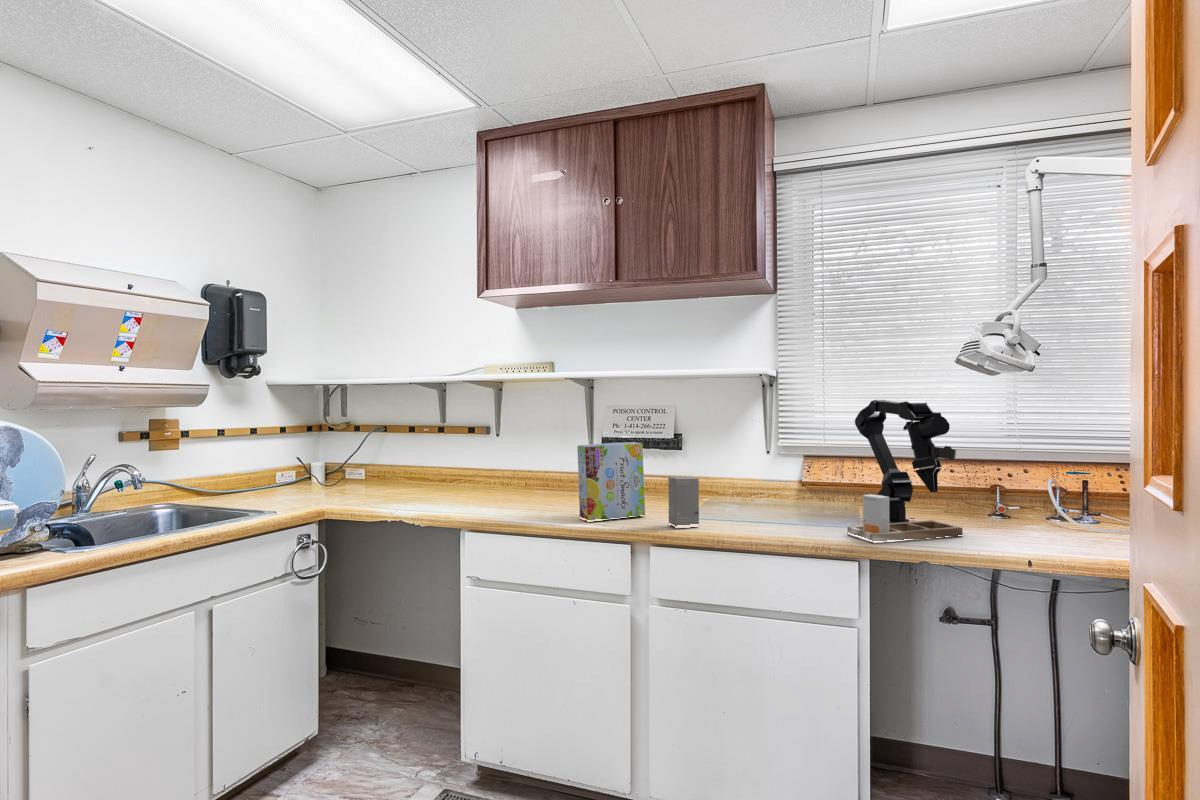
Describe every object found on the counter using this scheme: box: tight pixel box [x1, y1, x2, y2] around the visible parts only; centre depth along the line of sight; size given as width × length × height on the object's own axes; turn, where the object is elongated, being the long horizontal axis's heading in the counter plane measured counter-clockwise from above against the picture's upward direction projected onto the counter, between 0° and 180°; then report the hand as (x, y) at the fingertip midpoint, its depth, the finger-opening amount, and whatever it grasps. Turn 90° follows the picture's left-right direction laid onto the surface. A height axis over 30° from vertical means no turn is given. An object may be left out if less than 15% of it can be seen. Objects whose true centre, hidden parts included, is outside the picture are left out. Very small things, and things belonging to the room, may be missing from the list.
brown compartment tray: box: [846, 519, 964, 541], centre depth 193 cm, size 12×30×2 cm, turn 104°
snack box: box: [576, 441, 646, 520], centre depth 227 cm, size 22×9×26 cm, turn 113°
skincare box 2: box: [862, 494, 890, 533], centre depth 191 cm, size 6×4×12 cm
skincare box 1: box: [667, 476, 700, 526], centre depth 211 cm, size 8×7×16 cm
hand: (934, 492), depth 199 cm, fingers open, 9 cm apart
